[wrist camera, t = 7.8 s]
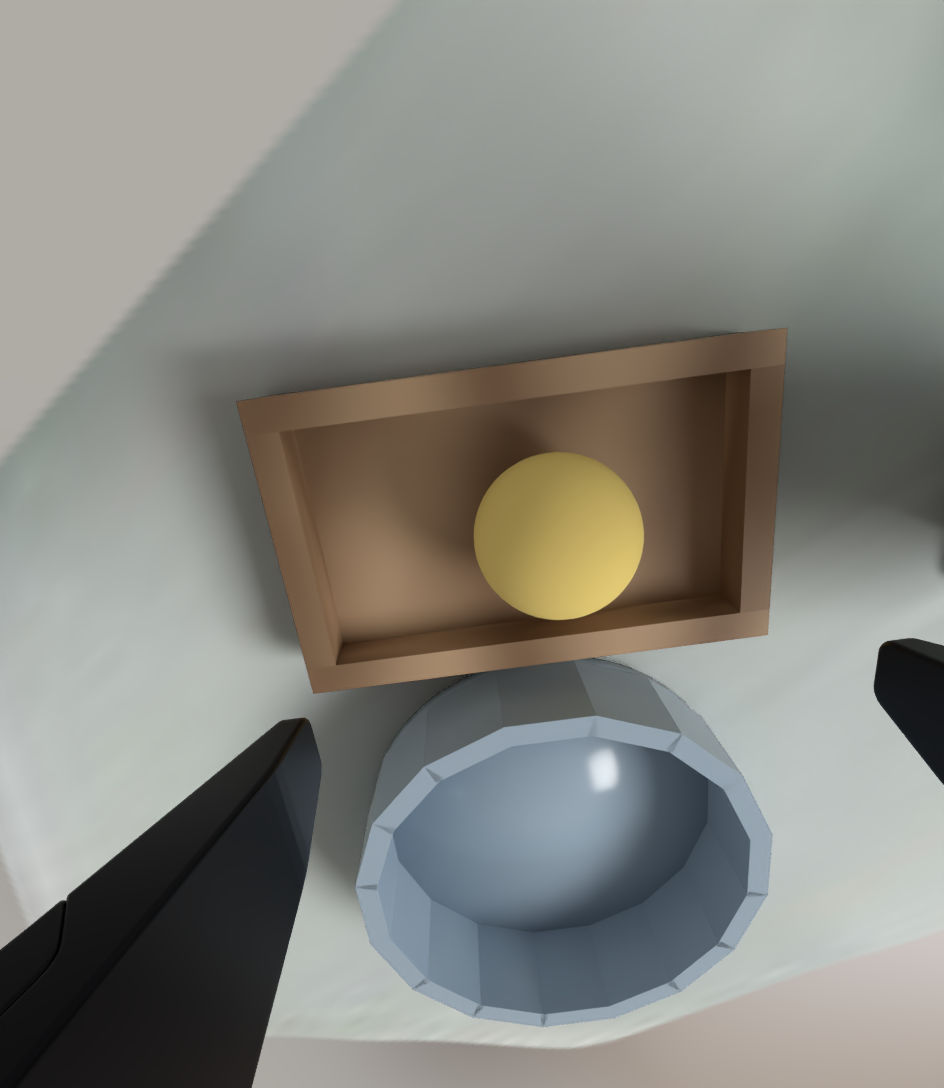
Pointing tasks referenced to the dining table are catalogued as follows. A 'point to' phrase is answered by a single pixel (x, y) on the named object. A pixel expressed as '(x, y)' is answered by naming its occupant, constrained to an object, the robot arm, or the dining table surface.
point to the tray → (471, 468)
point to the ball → (558, 535)
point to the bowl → (559, 846)
